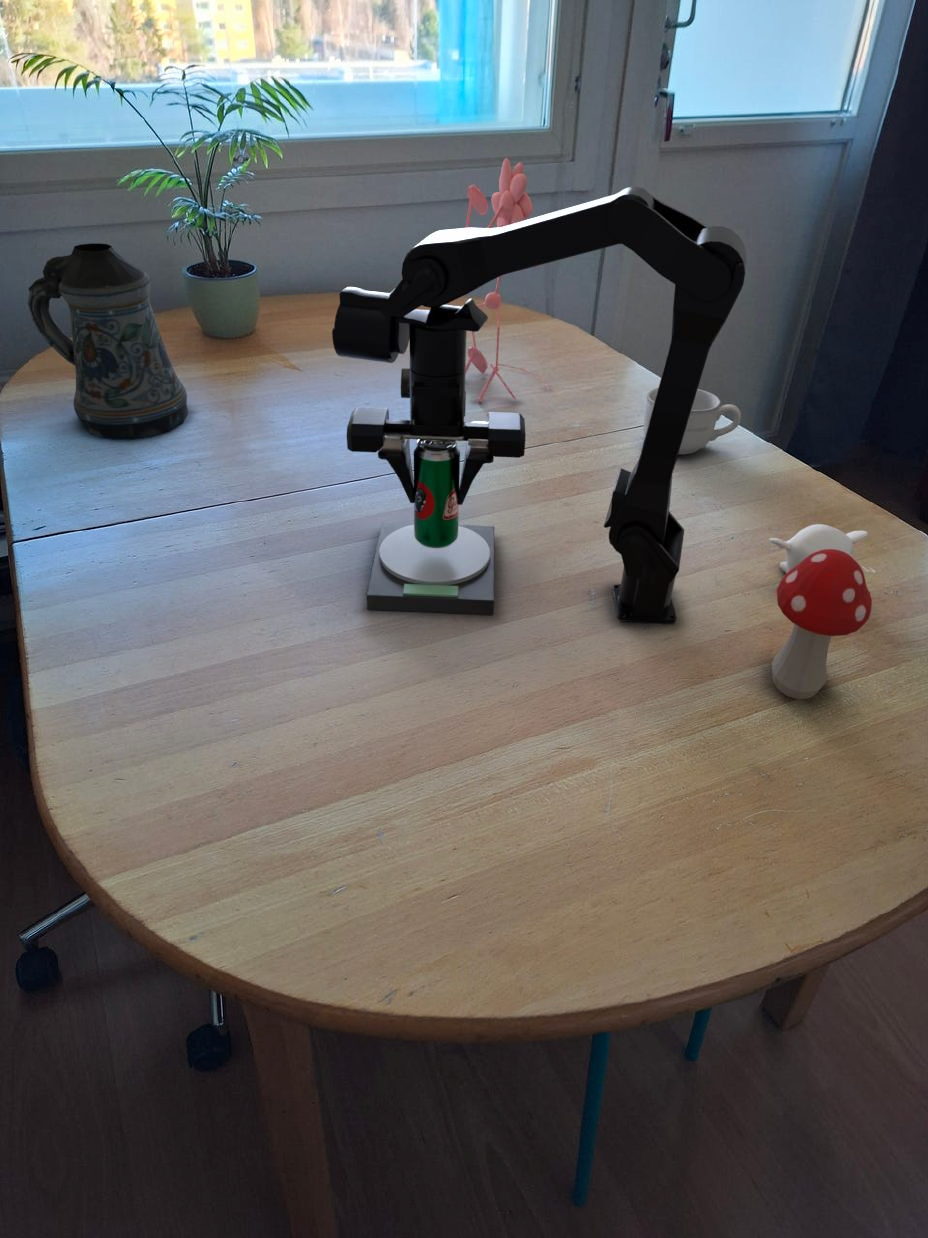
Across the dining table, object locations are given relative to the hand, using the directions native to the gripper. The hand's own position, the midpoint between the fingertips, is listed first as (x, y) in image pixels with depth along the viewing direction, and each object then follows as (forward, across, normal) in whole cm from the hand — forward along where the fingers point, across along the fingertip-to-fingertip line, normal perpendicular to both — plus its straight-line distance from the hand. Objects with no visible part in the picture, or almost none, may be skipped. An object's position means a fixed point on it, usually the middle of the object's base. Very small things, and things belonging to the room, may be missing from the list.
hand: (436, 502), depth 98 cm
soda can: (+5, 0, 0) cm, 5 cm away
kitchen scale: (+9, 0, +1) cm, 9 cm away
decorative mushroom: (+9, -38, +18) cm, 43 cm away
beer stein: (+9, +50, -38) cm, 64 cm away
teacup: (+9, -36, -36) cm, 52 cm away
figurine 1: (+9, -9, -57) cm, 59 cm away
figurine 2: (+10, -44, +1) cm, 45 cm away
